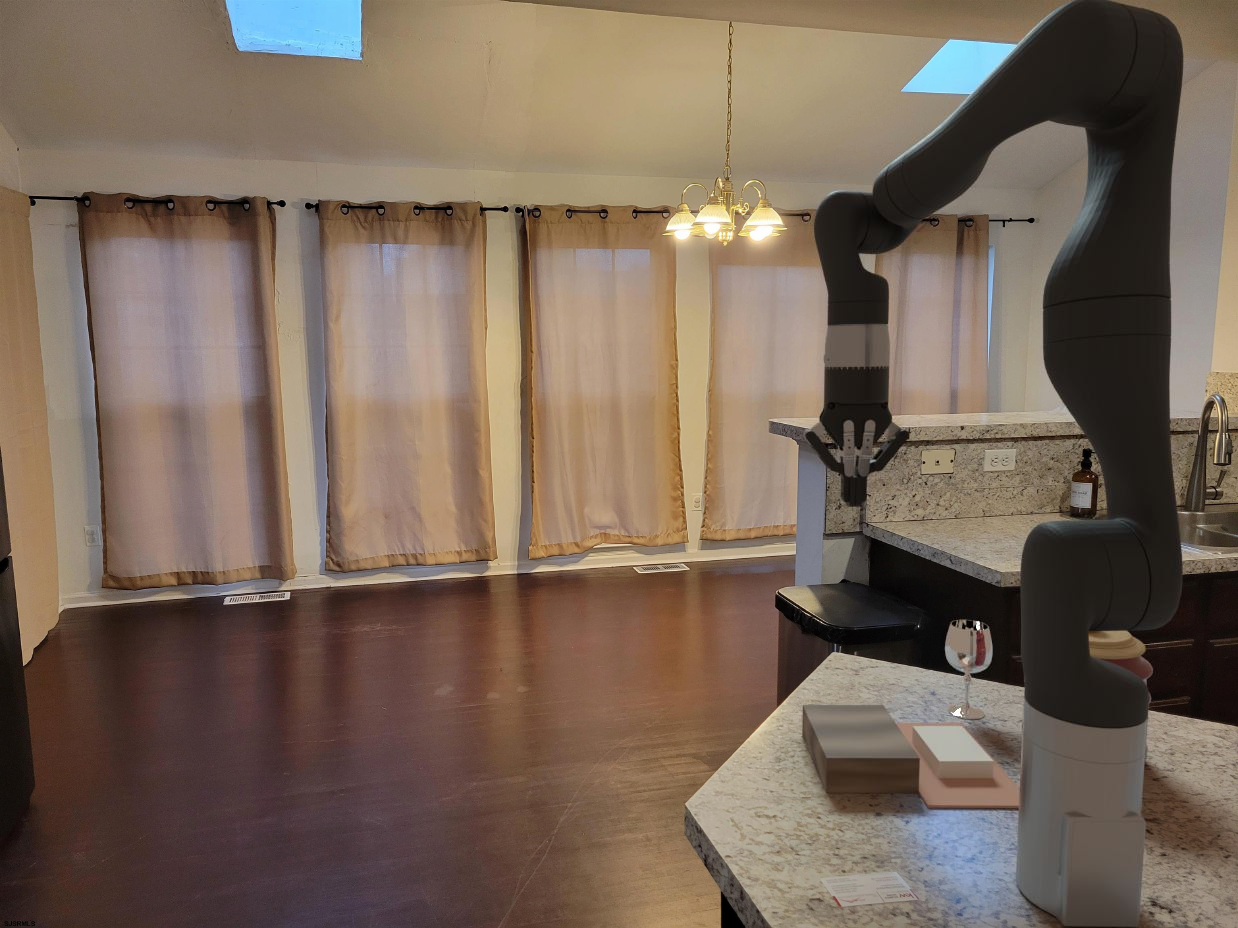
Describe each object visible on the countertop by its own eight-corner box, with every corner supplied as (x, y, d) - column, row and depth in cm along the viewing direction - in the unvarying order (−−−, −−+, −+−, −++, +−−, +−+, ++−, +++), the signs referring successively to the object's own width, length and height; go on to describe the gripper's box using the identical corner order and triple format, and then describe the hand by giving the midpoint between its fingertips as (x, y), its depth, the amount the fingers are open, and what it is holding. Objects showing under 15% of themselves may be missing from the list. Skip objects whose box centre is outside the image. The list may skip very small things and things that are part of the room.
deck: (918, 792, 90) (919, 758, 89) (826, 792, 90) (826, 757, 90) (882, 735, 104) (883, 704, 103) (802, 735, 104) (802, 704, 104)
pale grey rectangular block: (939, 761, 92) (938, 777, 92) (993, 760, 92) (992, 777, 92) (912, 725, 101) (912, 741, 101) (962, 725, 101) (961, 741, 101)
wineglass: (997, 721, 107) (1001, 631, 106) (952, 721, 107) (955, 632, 106) (979, 703, 113) (982, 618, 112) (936, 703, 113) (939, 618, 112)
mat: (1034, 808, 87) (1034, 805, 86) (928, 807, 87) (928, 804, 87) (962, 725, 106) (962, 722, 106) (875, 724, 107) (876, 722, 107)
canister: (1106, 730, 104) (1114, 594, 102) (1172, 782, 91) (1183, 628, 89) (1002, 730, 105) (1008, 595, 103) (1053, 782, 92) (1061, 628, 90)
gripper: (807, 364, 96) (804, 511, 98) (922, 363, 95) (917, 511, 97) (795, 364, 103) (793, 501, 105) (902, 362, 103) (898, 500, 105)
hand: (853, 505), depth 101 cm, fingers closed
